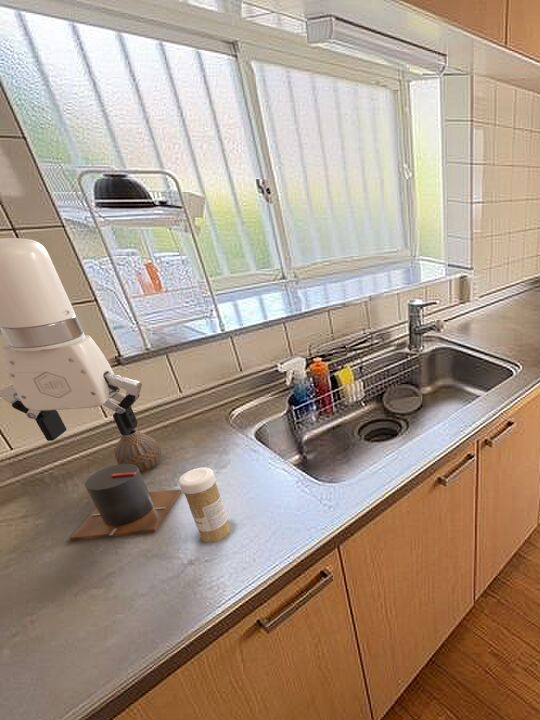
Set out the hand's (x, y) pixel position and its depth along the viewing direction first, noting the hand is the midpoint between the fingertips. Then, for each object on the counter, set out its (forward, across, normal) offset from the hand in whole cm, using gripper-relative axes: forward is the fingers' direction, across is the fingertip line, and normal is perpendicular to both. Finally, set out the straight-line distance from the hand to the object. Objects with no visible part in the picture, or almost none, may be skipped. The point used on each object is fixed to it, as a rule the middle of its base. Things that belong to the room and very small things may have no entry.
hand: (94, 433), depth 67 cm
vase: (+18, -6, +16) cm, 25 cm away
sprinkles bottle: (+19, +15, -7) cm, 25 cm away
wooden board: (+18, -1, 0) cm, 18 cm away
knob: (+17, -1, 0) cm, 17 cm away
